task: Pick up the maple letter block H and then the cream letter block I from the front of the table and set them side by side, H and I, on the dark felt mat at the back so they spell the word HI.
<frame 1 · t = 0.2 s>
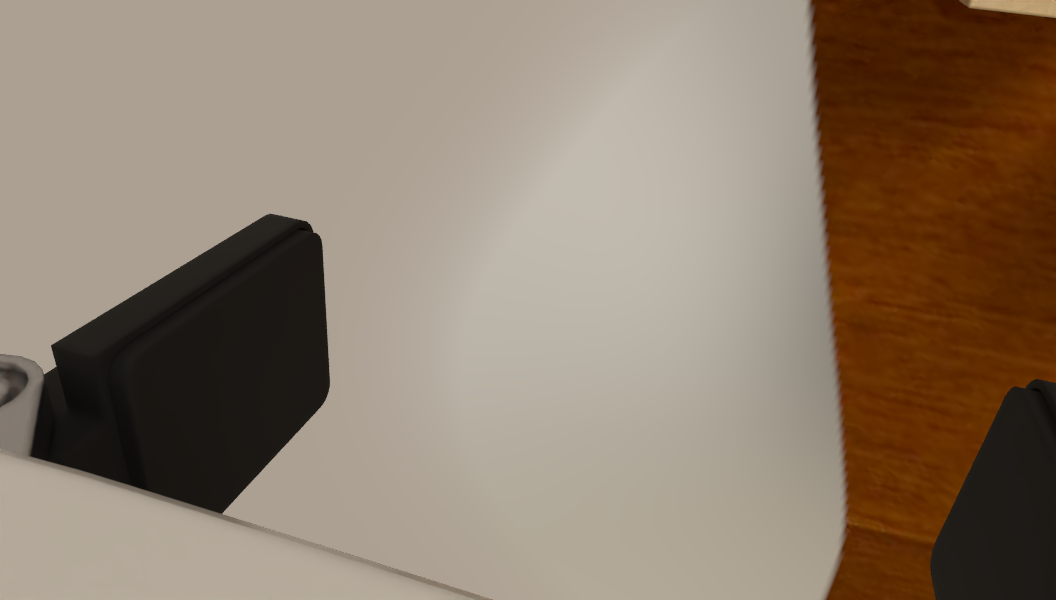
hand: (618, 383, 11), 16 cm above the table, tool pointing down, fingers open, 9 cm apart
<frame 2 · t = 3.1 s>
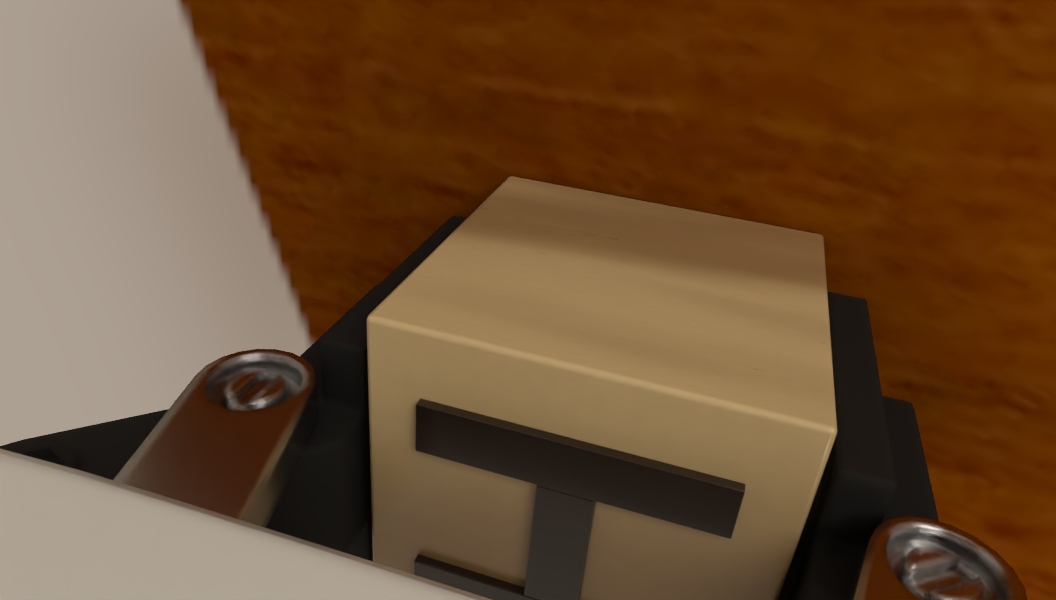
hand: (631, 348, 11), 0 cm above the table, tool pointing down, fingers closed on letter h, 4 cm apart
letter h: (635, 336, 12), on the table, touching gripper
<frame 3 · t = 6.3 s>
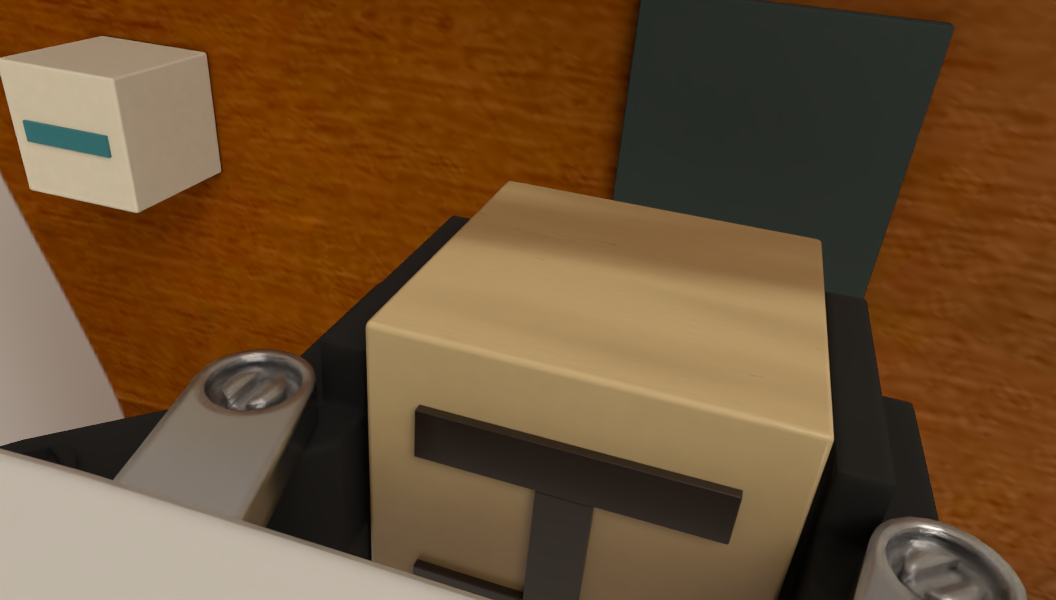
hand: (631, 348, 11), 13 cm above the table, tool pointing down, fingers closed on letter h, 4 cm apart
word mat: (736, 240, 24), on the table
letter i: (163, 105, 28), on the table
letter h: (634, 340, 12), point 13 cm above the table, touching gripper
when the fingers open (1 cm above the table, at t = 9.6 s): letter h stays where it is, resting on word mat.
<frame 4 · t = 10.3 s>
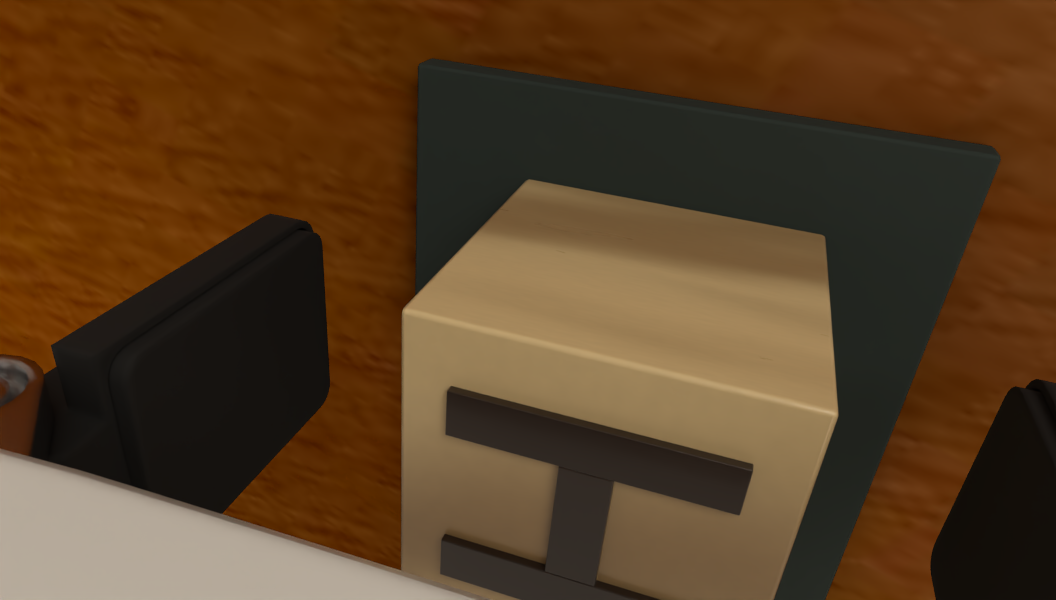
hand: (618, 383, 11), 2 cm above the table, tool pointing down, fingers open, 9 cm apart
word mat: (620, 471, 14), on the table
letter h: (646, 332, 12), resting on word mat
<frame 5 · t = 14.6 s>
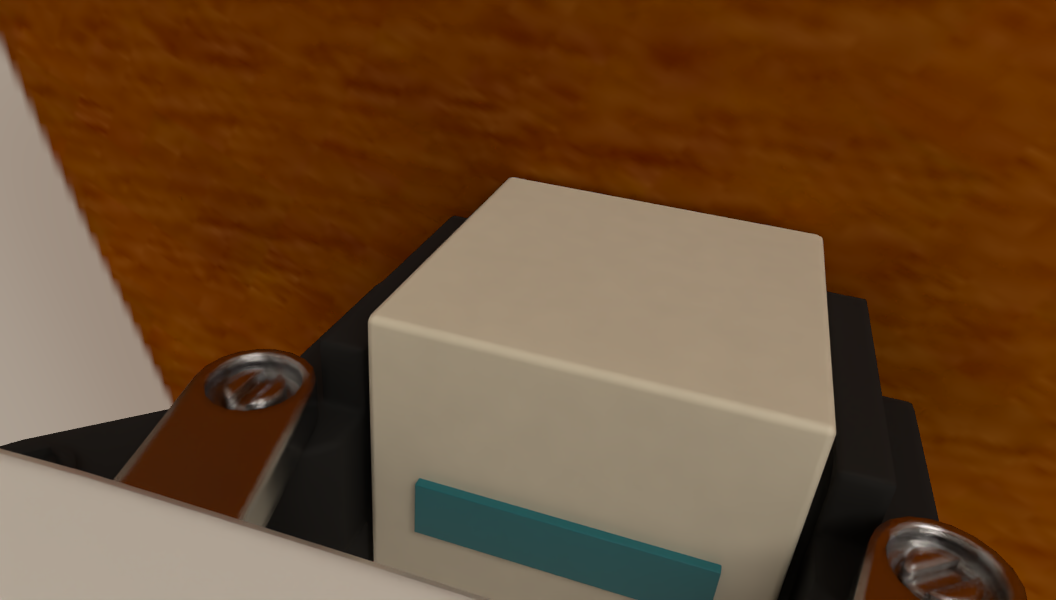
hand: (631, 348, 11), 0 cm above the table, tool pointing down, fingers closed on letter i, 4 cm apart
letter i: (635, 336, 12), on the table, touching gripper
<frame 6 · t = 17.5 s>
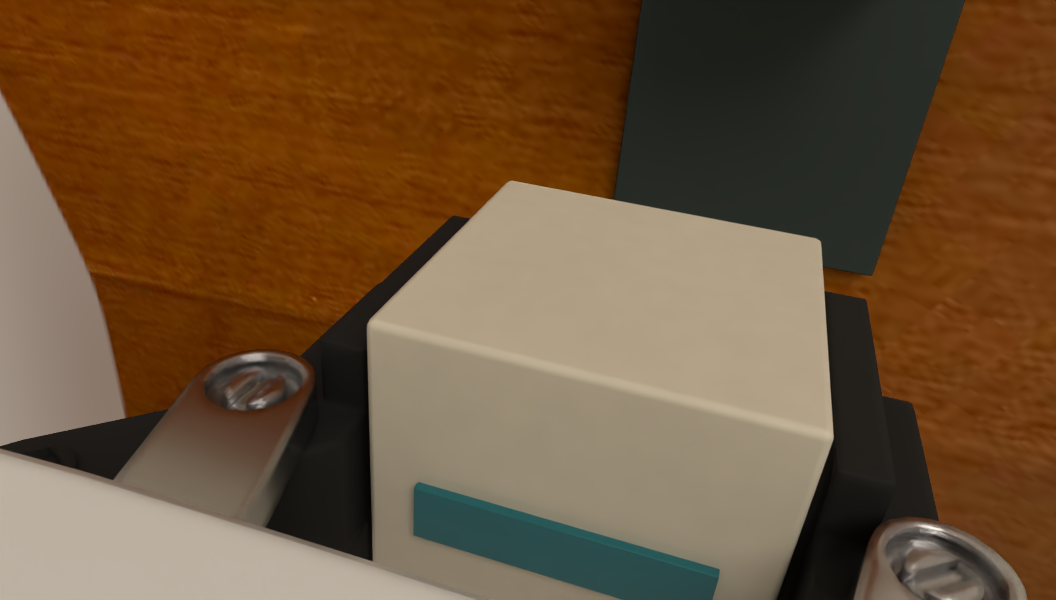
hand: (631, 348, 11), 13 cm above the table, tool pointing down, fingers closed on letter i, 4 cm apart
word mat: (791, 9, 21), on the table
letter i: (634, 339, 12), point 13 cm above the table, touching gripper
when the fingers open (1 cm above the table, at t = 20.8 s): letter i stays where it is, resting on word mat.
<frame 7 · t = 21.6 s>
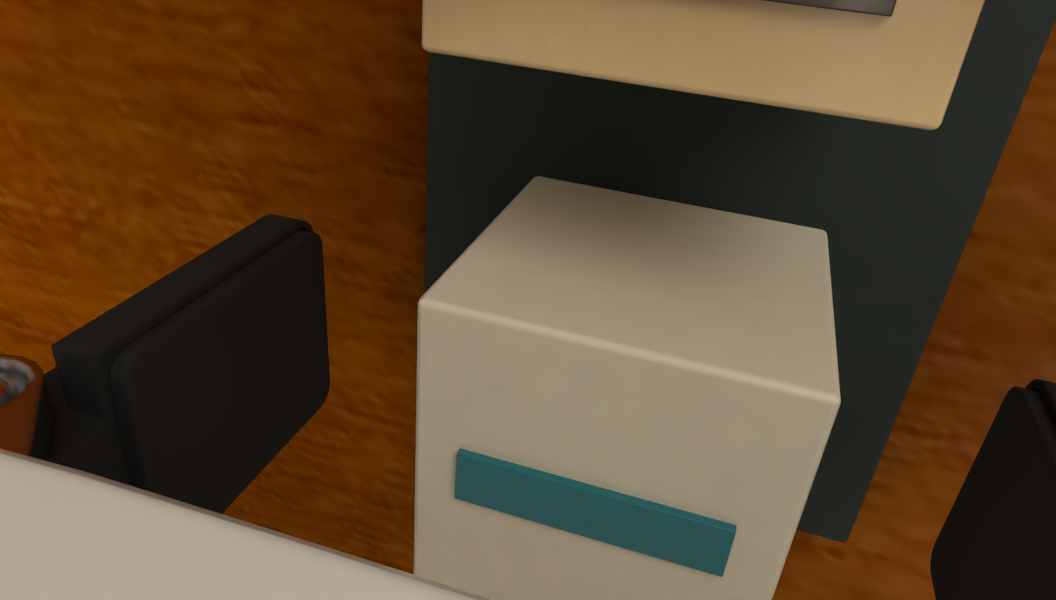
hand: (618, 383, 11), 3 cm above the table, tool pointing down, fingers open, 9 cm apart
word mat: (695, 97, 11), on the table
letter i: (651, 325, 12), resting on word mat
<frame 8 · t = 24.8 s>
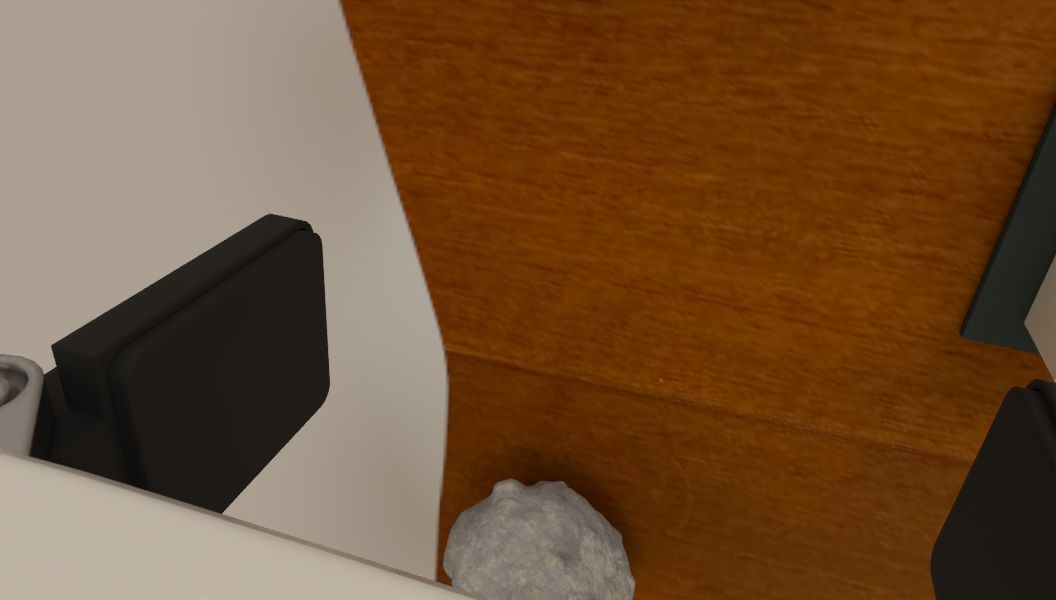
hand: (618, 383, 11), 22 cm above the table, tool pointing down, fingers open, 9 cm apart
stone: (567, 500, 42), on the table
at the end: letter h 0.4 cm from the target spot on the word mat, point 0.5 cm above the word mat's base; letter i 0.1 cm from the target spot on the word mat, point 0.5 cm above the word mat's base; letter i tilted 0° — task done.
